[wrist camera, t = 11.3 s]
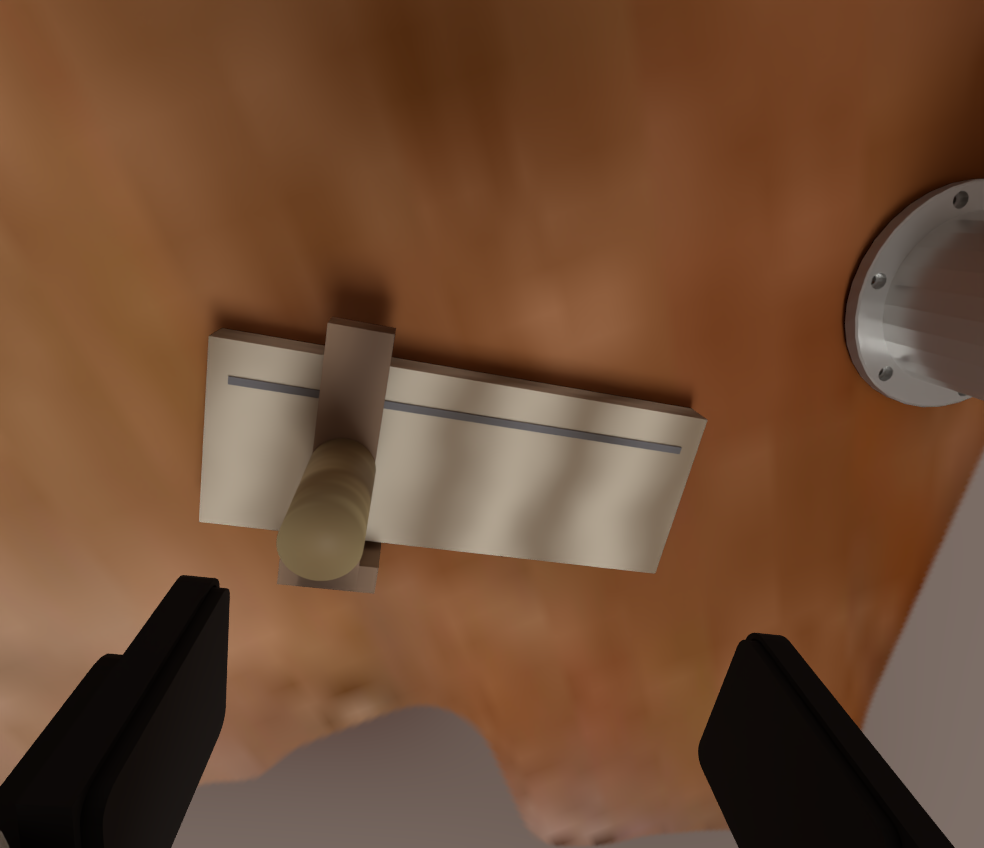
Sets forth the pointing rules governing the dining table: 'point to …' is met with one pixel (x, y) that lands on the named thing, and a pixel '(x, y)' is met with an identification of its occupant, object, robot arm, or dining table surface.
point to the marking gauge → (340, 466)
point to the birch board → (454, 457)
